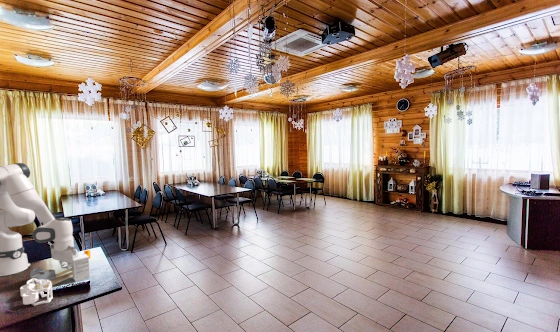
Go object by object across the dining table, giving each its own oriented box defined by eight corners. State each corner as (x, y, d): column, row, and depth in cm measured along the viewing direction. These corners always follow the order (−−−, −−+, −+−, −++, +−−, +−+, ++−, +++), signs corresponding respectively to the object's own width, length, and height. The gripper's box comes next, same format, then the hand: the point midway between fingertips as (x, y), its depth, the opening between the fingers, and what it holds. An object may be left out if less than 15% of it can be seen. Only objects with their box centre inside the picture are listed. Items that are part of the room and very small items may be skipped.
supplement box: (72, 278, 160) (70, 257, 160) (87, 273, 166) (86, 253, 165) (74, 282, 155) (73, 260, 154) (90, 277, 160) (88, 256, 160)
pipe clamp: (84, 259, 189) (83, 250, 189) (90, 259, 189) (90, 250, 189) (70, 266, 177) (70, 256, 177) (77, 266, 177) (76, 256, 177)
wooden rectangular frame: (29, 289, 148) (27, 275, 147) (74, 270, 170) (73, 257, 170) (37, 291, 145) (36, 276, 145) (82, 272, 168) (82, 259, 168)
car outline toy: (20, 296, 142) (19, 282, 141) (48, 287, 150) (47, 274, 149) (24, 310, 128) (23, 295, 128) (54, 300, 136) (53, 286, 136)
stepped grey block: (34, 281, 157) (33, 268, 157) (43, 280, 158) (42, 267, 158) (30, 285, 153) (29, 271, 153) (39, 284, 154) (38, 270, 154)
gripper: (81, 245, 160) (82, 268, 161) (60, 241, 168) (61, 263, 169) (69, 249, 154) (71, 273, 155) (48, 245, 163) (49, 267, 163)
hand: (66, 268), depth 162 cm, fingers open, 4 cm apart
